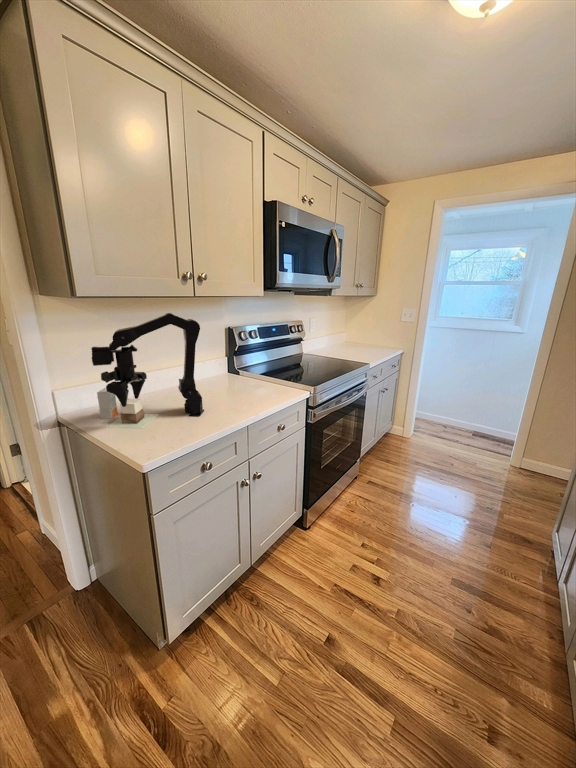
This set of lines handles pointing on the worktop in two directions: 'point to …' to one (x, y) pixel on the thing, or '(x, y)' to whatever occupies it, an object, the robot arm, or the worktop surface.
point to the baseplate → (141, 424)
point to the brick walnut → (132, 417)
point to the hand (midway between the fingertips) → (130, 402)
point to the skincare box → (107, 404)
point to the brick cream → (132, 406)
